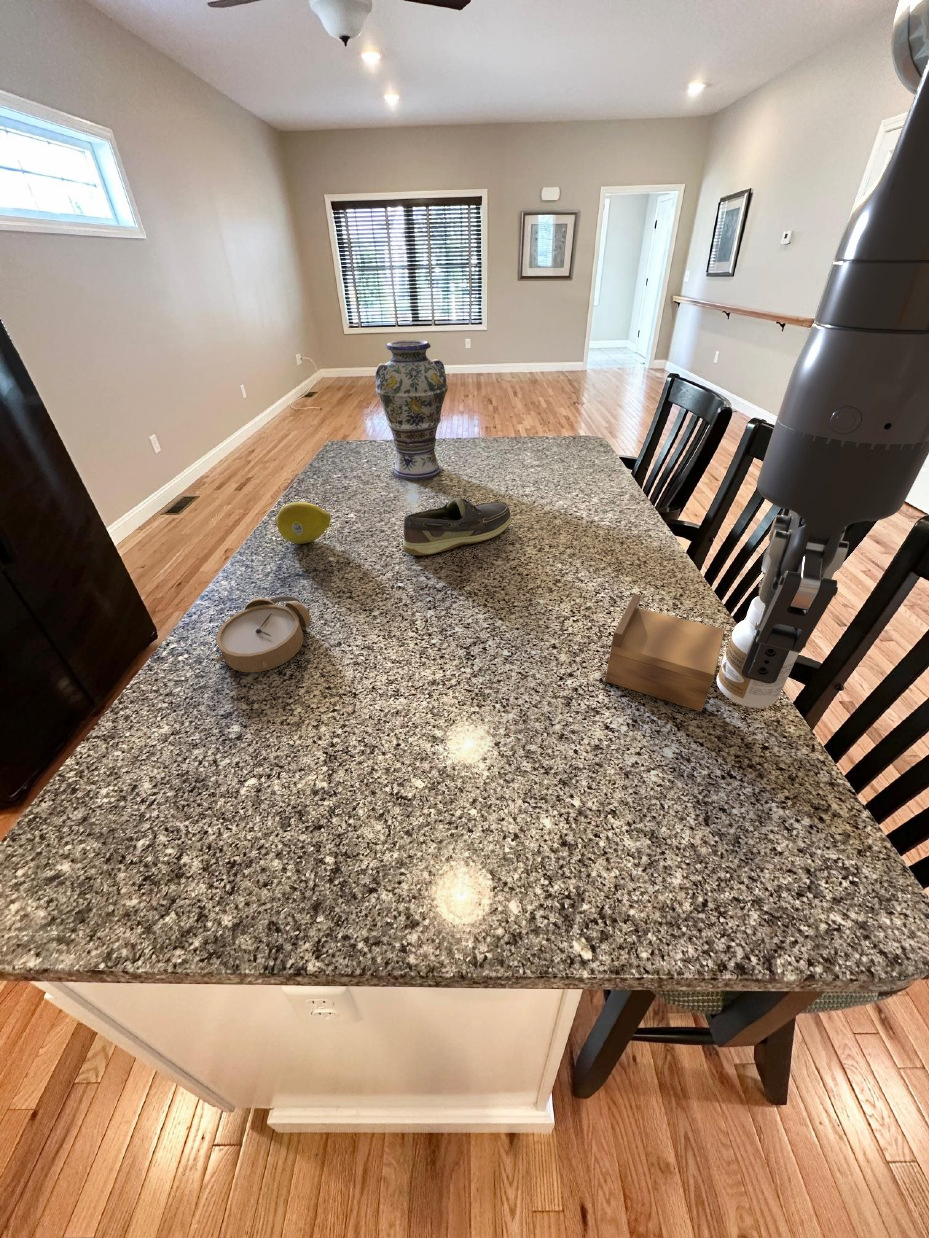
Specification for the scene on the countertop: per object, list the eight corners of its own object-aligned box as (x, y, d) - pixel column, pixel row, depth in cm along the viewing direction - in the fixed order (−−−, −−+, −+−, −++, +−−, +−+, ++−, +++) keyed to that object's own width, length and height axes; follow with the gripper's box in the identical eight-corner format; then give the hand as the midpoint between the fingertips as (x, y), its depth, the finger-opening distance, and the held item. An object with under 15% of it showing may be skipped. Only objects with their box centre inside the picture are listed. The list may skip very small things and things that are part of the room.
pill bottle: (707, 671, 42) (734, 590, 37) (761, 671, 42) (795, 590, 37) (728, 709, 38) (761, 626, 34) (788, 709, 38) (828, 626, 34)
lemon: (271, 548, 100) (261, 509, 95) (290, 531, 106) (282, 494, 102) (323, 552, 98) (316, 513, 93) (339, 534, 104) (333, 497, 100)
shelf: (712, 664, 70) (729, 616, 65) (701, 712, 63) (719, 661, 58) (624, 639, 74) (633, 593, 70) (604, 681, 67) (613, 632, 63)
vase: (457, 479, 129) (453, 345, 112) (388, 486, 126) (374, 349, 109) (444, 459, 142) (439, 336, 125) (381, 464, 139) (368, 340, 122)
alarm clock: (198, 653, 69) (251, 580, 79) (212, 675, 72) (262, 603, 83) (274, 662, 67) (319, 586, 77) (285, 685, 70) (327, 610, 81)
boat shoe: (522, 528, 106) (524, 490, 101) (423, 567, 93) (420, 526, 88) (492, 514, 111) (493, 478, 107) (395, 549, 99) (391, 510, 94)
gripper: (973, 467, 22) (820, 740, 32) (916, 397, 32) (814, 620, 42) (775, 445, 25) (691, 702, 35) (781, 388, 35) (715, 598, 45)
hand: (759, 656), depth 38 cm, fingers closed on pill bottle, 4 cm apart
